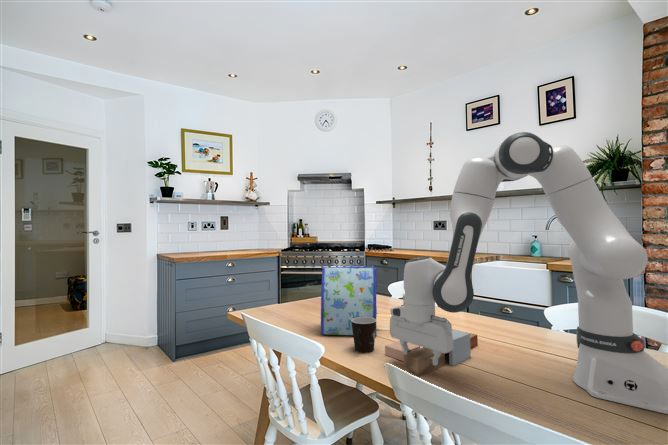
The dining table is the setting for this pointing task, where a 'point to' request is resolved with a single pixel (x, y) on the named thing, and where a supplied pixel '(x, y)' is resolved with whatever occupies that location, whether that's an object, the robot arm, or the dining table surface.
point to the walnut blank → (421, 361)
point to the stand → (398, 349)
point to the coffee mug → (364, 334)
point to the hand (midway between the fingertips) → (420, 360)
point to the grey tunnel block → (459, 347)
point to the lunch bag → (346, 297)
